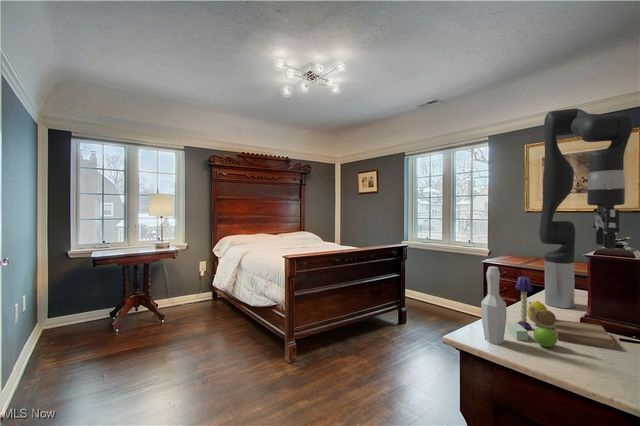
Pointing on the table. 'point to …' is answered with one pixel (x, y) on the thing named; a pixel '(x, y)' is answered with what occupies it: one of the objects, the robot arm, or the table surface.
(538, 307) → the lemon
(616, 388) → the table surface
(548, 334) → the snail figurine
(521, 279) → the toy lamp
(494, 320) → the low poly bottle
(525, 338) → the sage block
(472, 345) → the table surface
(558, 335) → the walnut block
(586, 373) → the table surface
